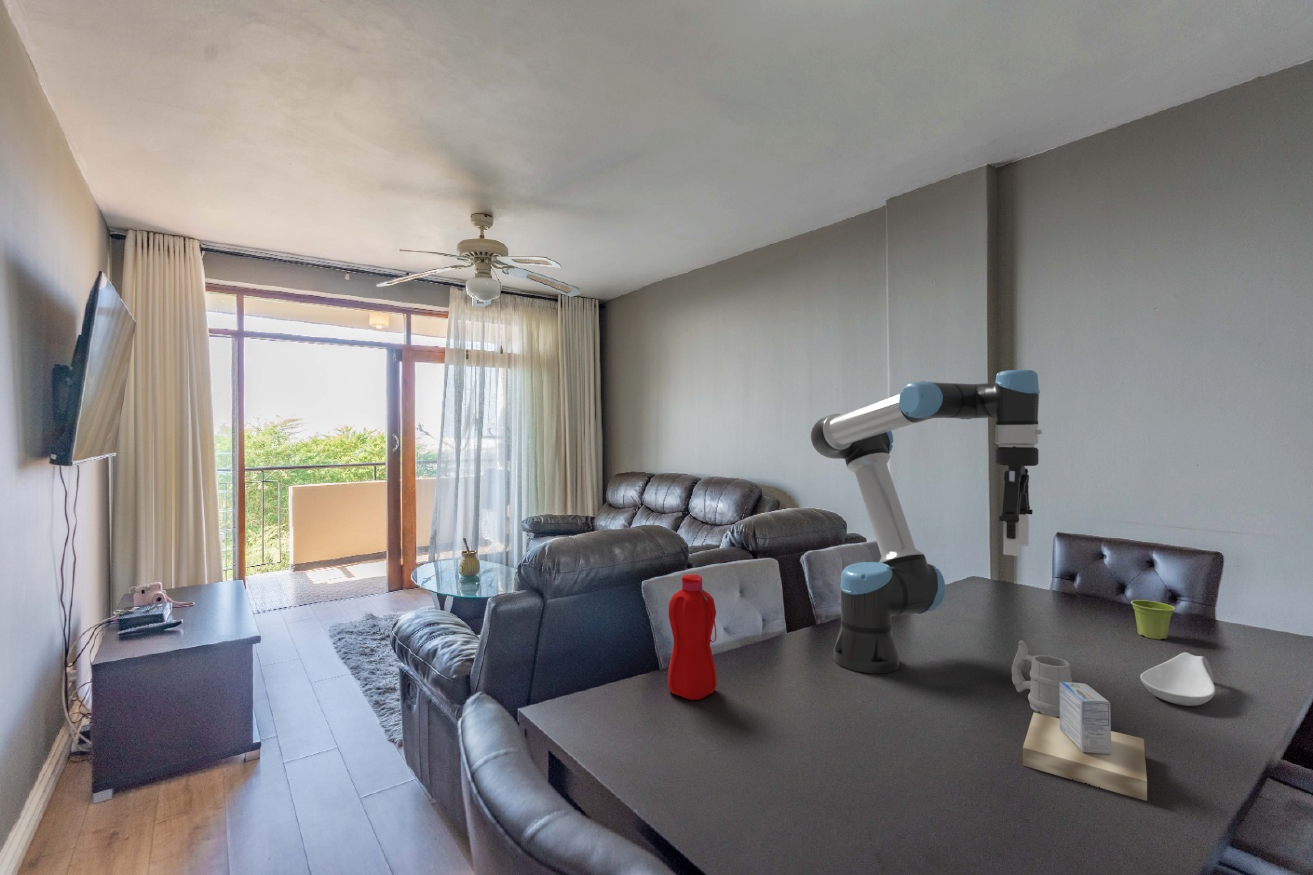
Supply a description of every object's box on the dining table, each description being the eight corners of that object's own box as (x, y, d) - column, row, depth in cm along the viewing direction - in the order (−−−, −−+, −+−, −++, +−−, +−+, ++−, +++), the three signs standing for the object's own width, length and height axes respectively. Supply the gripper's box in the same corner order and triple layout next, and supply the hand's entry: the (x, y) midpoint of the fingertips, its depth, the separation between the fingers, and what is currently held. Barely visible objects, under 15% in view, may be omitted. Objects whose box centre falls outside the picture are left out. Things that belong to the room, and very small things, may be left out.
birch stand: (1022, 765, 100) (1022, 747, 100) (1033, 728, 112) (1033, 712, 112) (1146, 801, 90) (1147, 781, 90) (1143, 756, 102) (1143, 738, 102)
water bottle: (702, 707, 121) (702, 584, 121) (661, 692, 128) (661, 575, 128) (728, 693, 127) (728, 576, 127) (689, 679, 135) (689, 568, 135)
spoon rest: (1207, 719, 116) (1207, 682, 116) (1132, 698, 126) (1132, 664, 126) (1233, 688, 131) (1233, 655, 131) (1164, 671, 140) (1164, 641, 140)
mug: (1058, 722, 115) (1058, 659, 115) (1000, 697, 125) (1000, 640, 125) (1082, 714, 118) (1082, 653, 118) (1023, 691, 129) (1023, 635, 129)
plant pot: (1171, 634, 165) (1171, 603, 165) (1178, 644, 157) (1178, 611, 157) (1128, 628, 170) (1128, 598, 170) (1133, 637, 163) (1133, 606, 163)
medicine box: (1112, 755, 97) (1112, 702, 97) (1081, 753, 98) (1081, 700, 98) (1086, 732, 105) (1086, 682, 105) (1058, 729, 105) (1058, 680, 105)
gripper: (1030, 447, 110) (1030, 562, 110) (1044, 445, 130) (1044, 543, 130) (985, 446, 115) (984, 557, 115) (1005, 445, 134) (1004, 539, 134)
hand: (1016, 549), depth 122 cm, fingers open, 13 cm apart
